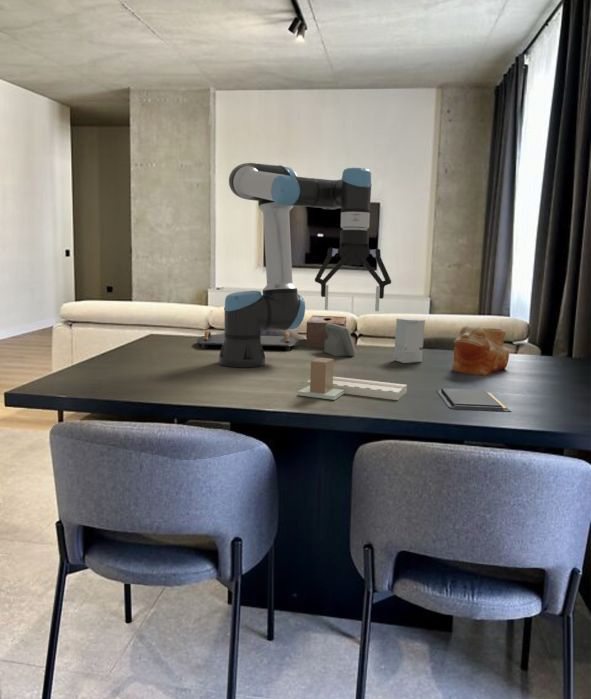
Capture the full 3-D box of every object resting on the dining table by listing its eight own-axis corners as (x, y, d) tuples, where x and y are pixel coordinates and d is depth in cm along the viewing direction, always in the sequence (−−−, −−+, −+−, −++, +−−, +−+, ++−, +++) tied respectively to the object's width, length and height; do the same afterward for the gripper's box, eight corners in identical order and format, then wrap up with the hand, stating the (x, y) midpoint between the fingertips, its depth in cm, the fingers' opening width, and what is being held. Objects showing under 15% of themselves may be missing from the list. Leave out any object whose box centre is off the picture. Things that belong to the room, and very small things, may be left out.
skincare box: (402, 363, 200) (405, 319, 198) (392, 360, 205) (395, 317, 203) (423, 362, 203) (425, 319, 201) (413, 359, 209) (415, 317, 206)
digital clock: (356, 357, 209) (358, 327, 208) (332, 357, 207) (333, 327, 206) (343, 350, 225) (344, 322, 223) (321, 350, 223) (321, 322, 221)
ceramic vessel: (439, 371, 187) (442, 325, 185) (476, 362, 207) (480, 319, 204) (480, 379, 178) (484, 330, 176) (515, 368, 197) (519, 323, 195)
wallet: (436, 386, 161) (493, 388, 159) (435, 392, 161) (492, 395, 160) (447, 404, 141) (512, 407, 140) (447, 412, 141) (512, 415, 140)
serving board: (193, 350, 217) (193, 333, 216) (201, 341, 239) (201, 326, 238) (298, 352, 218) (298, 336, 217) (296, 343, 241) (296, 328, 240)
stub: (297, 395, 150) (298, 360, 149) (309, 388, 157) (310, 355, 156) (334, 399, 146) (335, 364, 145) (344, 393, 154) (346, 359, 152)
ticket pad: (306, 388, 158) (306, 381, 158) (319, 381, 167) (319, 374, 167) (397, 400, 149) (398, 392, 148) (406, 392, 158) (407, 384, 157)
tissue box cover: (311, 338, 255) (312, 315, 253) (345, 339, 253) (346, 316, 251) (305, 347, 229) (306, 322, 228) (342, 349, 228) (344, 323, 226)
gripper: (306, 227, 151) (304, 310, 155) (404, 230, 150) (400, 312, 153) (307, 229, 159) (305, 307, 162) (400, 231, 158) (396, 310, 161)
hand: (351, 310), depth 158 cm, fingers open, 13 cm apart
